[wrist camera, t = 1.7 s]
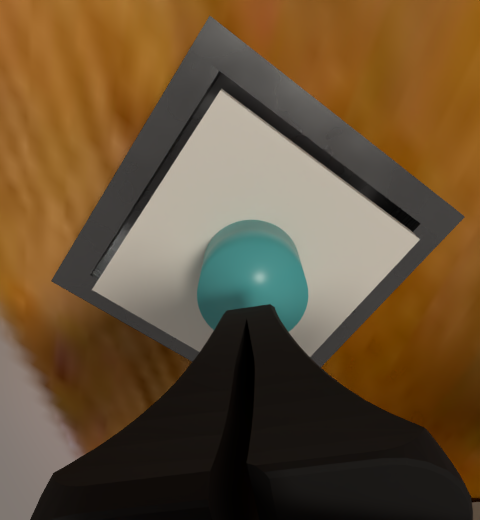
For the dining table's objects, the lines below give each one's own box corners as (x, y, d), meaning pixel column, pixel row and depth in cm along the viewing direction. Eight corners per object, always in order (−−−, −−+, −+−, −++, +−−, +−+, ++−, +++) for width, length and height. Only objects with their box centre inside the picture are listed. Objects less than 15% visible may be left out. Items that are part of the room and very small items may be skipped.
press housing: (426, 190, 21) (464, 216, 17) (273, 360, 25) (278, 410, 21) (216, 25, 18) (209, 16, 15) (82, 245, 22) (51, 281, 19)
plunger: (410, 230, 17) (449, 268, 14) (273, 380, 20) (278, 440, 17) (221, 88, 15) (216, 95, 12) (99, 278, 18) (68, 324, 15)
